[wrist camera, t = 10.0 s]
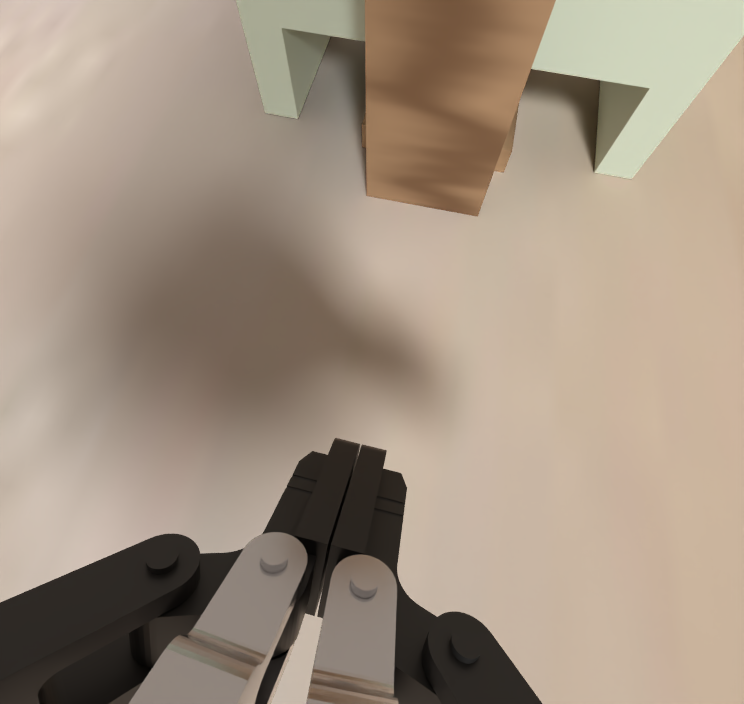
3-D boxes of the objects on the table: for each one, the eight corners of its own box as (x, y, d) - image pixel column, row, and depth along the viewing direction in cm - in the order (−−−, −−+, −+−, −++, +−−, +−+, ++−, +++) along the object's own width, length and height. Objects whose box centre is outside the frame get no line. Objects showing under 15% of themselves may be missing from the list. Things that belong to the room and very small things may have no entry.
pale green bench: (633, 78, 26) (758, -128, 18) (631, 179, 24) (777, -8, 15) (303, 24, 28) (275, -188, 19) (265, 113, 25) (212, -90, 17)
